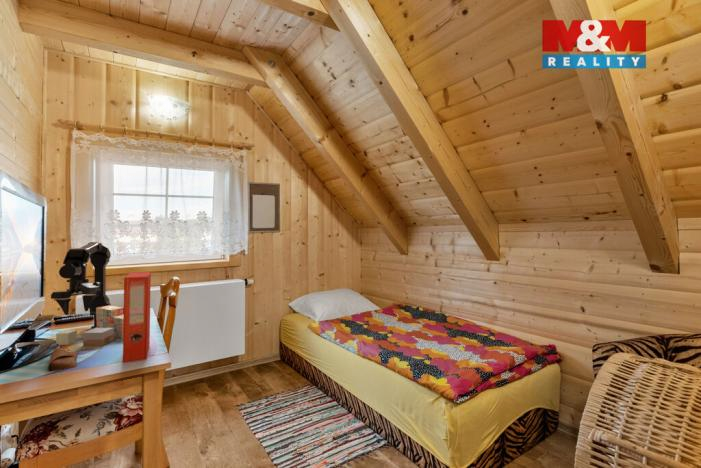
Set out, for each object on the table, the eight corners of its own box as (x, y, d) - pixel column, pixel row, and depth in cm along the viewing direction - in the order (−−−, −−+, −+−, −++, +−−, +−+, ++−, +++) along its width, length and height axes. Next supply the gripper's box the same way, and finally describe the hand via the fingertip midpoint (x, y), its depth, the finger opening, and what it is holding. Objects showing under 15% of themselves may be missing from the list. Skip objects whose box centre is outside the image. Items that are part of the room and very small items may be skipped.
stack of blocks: (135, 335, 165) (135, 309, 165) (121, 339, 160) (121, 312, 160) (109, 329, 175) (109, 304, 175) (95, 332, 170) (95, 307, 170)
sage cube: (65, 341, 156) (65, 330, 156) (76, 341, 156) (76, 330, 156) (56, 344, 151) (56, 333, 151) (68, 344, 151) (68, 333, 151)
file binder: (150, 346, 150) (150, 271, 150) (147, 359, 135) (147, 276, 134) (128, 348, 146) (128, 272, 146) (122, 362, 131) (123, 277, 131)
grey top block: (95, 334, 158) (95, 327, 158) (113, 334, 158) (113, 327, 158) (82, 339, 150) (82, 332, 150) (101, 339, 150) (101, 332, 150)
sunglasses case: (78, 366, 127) (66, 352, 125) (57, 380, 123) (44, 366, 121) (79, 352, 141) (68, 340, 139) (59, 365, 137) (48, 352, 135)
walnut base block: (96, 341, 158) (96, 334, 158) (114, 340, 158) (114, 334, 158) (83, 346, 150) (83, 339, 150) (102, 346, 150) (102, 339, 150)
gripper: (73, 278, 143) (72, 317, 142) (111, 275, 161) (110, 309, 160) (50, 278, 145) (49, 316, 144) (90, 275, 163) (89, 309, 162)
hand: (76, 312), depth 152 cm, fingers open, 9 cm apart
